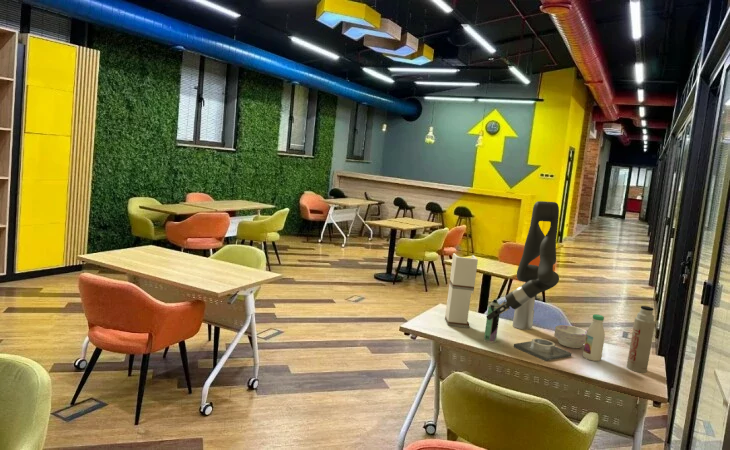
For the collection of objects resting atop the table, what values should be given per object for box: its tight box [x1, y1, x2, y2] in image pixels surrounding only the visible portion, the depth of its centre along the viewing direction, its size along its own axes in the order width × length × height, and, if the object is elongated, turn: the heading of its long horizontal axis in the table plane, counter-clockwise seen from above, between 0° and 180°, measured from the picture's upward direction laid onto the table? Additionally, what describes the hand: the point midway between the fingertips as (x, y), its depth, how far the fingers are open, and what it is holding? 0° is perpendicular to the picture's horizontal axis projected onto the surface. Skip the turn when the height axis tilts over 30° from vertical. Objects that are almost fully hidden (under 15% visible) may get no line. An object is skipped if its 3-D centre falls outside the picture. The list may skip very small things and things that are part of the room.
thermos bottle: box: [626, 305, 656, 374], centre depth 239 cm, size 8×8×28 cm
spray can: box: [483, 298, 501, 344], centre depth 258 cm, size 6×6×20 cm
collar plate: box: [513, 337, 573, 362], centre depth 251 cm, size 18×18×4 cm
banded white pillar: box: [444, 252, 479, 329], centre depth 280 cm, size 11×11×35 cm
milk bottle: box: [582, 313, 606, 362], centre depth 248 cm, size 8×8×20 cm
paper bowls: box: [554, 324, 587, 349], centre depth 265 cm, size 15×15×8 cm
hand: (489, 316), depth 258 cm, fingers closed on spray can, 5 cm apart
